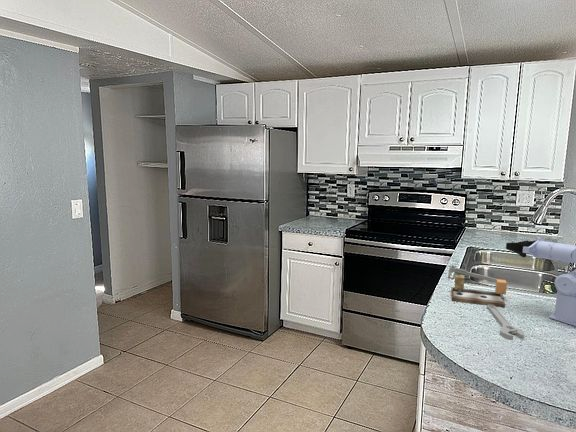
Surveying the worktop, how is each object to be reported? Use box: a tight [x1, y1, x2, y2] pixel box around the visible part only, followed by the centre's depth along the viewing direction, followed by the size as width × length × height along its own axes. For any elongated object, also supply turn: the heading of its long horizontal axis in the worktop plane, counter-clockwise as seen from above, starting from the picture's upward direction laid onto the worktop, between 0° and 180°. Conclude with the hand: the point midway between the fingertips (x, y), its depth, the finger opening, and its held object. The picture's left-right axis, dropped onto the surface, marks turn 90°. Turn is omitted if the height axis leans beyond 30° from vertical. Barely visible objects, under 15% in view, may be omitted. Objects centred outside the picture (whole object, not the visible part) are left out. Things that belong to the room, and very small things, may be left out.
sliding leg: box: [494, 278, 508, 300], centre depth 146 cm, size 3×8×5 cm, turn 159°
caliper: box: [447, 264, 497, 283], centre depth 170 cm, size 20×1×6 cm, turn 76°
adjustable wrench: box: [486, 305, 525, 341], centre depth 128 cm, size 25×6×2 cm, turn 164°
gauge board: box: [450, 274, 506, 308], centre depth 148 cm, size 17×12×7 cm
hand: (512, 245), depth 144 cm, fingers open, 7 cm apart
